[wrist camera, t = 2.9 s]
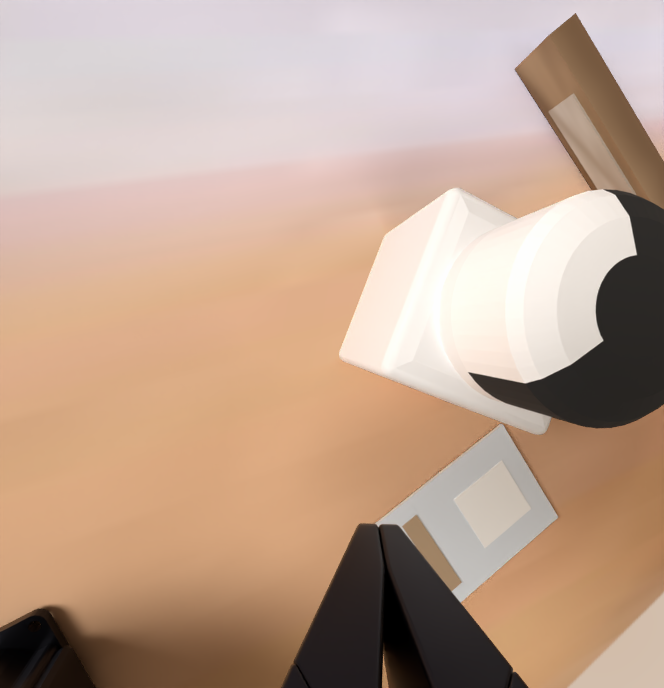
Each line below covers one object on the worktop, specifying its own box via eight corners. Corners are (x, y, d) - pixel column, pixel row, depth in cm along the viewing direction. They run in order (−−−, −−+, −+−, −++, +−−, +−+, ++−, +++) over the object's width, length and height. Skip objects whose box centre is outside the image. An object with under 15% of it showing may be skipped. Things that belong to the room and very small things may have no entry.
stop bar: (639, 267, 23) (684, 260, 21) (512, 70, 21) (546, 36, 19) (660, 245, 24) (707, 236, 21) (538, 49, 21) (575, 13, 19)
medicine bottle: (494, 285, 21) (788, 233, 10) (450, 403, 21) (698, 495, 9) (384, 232, 20) (572, 94, 8) (335, 358, 20) (458, 401, 8)
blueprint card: (427, 627, 21) (429, 630, 21) (361, 533, 20) (362, 536, 20) (555, 515, 23) (559, 517, 23) (500, 423, 22) (503, 424, 22)
